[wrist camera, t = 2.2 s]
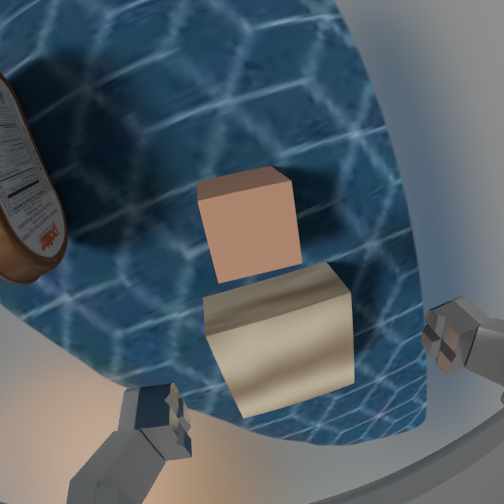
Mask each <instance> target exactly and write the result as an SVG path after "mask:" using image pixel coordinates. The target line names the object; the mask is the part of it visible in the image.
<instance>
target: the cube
mask: <svg viewBox="0 0 504 504" xmlns="http://www.w3.org/2000/svg"><path fill="white" fill-rule="evenodd" d="M197 192H198V205H199V209H200V213H201V217H202V221H203V225H204V229H205V233H206V237H207V241H208V245H209V248H210V252H211V256H212V260H213V264H214V268H215V271H216V275H217V279H218V282H219V283H223V282H227V281H231V280H235V279H240V278H244V277H248V276H252V275H256V274H260V273H264V272H269V271H273V270H277V269H281V268H285V267H289V266H293V265H297V264H301V263H302V258H301V250H300V241H299V233H298V226H297V218H296V210H295V203H294V196H293V189H292V182H291V180H290V179H288V178H287V177H286V176H284V175H283V174H281V173H280V172H279V171H277V170H276V169H274V168H273V167H272V166H268V167H263V168H258V169H253V170H248V171H243V172H238V173H234V174H229V175H225V176H220V177H216V178H211V179H207V180H203V181H199V182H197Z"/></svg>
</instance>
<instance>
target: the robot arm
mask: <svg viewBox="0 0 504 504" xmlns="http://www.w3.org/2000/svg"><path fill="white" fill-rule="evenodd" d="M424 321H425V322H426V323H427V325H426V326H425V328H424V329H423V331H422V337H421V339H422V344H423V347H424V349H425V351H426V352H427V354H428V355H429V356H431V357H434V358H436V364H437V366H438V367H439V368H440V369H441V370H442V372H443V373H444V374H445V375H446V376H448V375H451V374H453V373H454V372H456V371H458V370H460V369H462V368H464V367H465V368H466V369H468V370H470V371H472V372H474V373H476V374H479V375H481V376H483V377H485V378H487V379H489V380H491V381H493V382H496V383H498V384H500V385H502V386H504V320H500V319H497V318H493V319H490V318H489V317H488V316H487V315H486V314H485V313H483V312H482V311H481V310H480V309H479V308H477V307H476V306H475V305H474V304H473V303H471V302H470V301H469V300H468V299H467V298H465V297H463V296H459V297H457V298H455V299H453V300H451V301H449V302H446V303H444V304H441V305H439V306H437V307H434V308H432V309H430V310H428V311H427V312H426V314H425V319H424ZM501 402H502V403H503V404H504V392H503V394H502V396H501ZM189 429H190V418H189V413H188V409H187V407H186V404H185V402H184V400H182V399H180V398H178V389H177V388H176V386H175V384H173V383H170V384H162V385H155V386H147V387H141V388H132V389H126V391H125V392H124V395H123V401H122V406H121V412H120V419H119V425H118V431H114V432H113V433H112V434H111V435H110V436H109V437H108V438H107V439H106V441H105V442H104V443H103V444H102V445H101V446H100V447H99V449H98V450H97V451H96V452H95V453H94V454H93V455H92V457H91V458H90V459H89V460H88V461H87V462H86V463H85V465H84V466H83V467H82V468H81V469H80V470H79V471H78V473H77V474H76V475H75V476H74V477H73V478H72V479H71V481H70V484H69V490H68V497H67V503H66V504H142V502H143V501H144V499H145V497H146V496H147V494H148V492H149V490H150V489H151V487H152V485H153V484H154V482H155V480H156V478H157V477H158V475H159V473H160V472H161V470H162V468H163V466H164V465H165V463H166V462H165V461H168V460H176V459H183V458H190V457H192V450H191V439H190V437H189V436H188V434H187V432H188V431H189ZM0 504H6V503H3V502H0ZM310 504H504V408H503V409H501V410H500V411H498V412H497V413H496V414H494V415H493V416H491V417H490V418H489V419H487V420H486V421H484V422H483V423H481V424H480V425H479V426H477V427H476V428H474V429H473V430H471V431H470V432H468V433H466V434H465V435H463V436H462V437H460V438H458V439H457V440H455V441H453V442H452V443H450V444H448V445H447V446H445V447H443V448H442V449H440V450H438V451H436V452H434V453H433V454H431V455H429V456H427V457H425V458H423V459H421V460H420V461H417V462H415V463H413V464H411V465H409V466H407V467H405V468H403V469H401V470H399V471H397V472H395V473H392V474H390V475H388V476H386V477H384V478H381V479H379V480H376V481H374V482H371V483H369V484H366V485H364V486H361V487H358V488H356V489H353V490H350V491H347V492H345V493H342V494H339V495H336V496H333V497H330V498H327V499H323V500H320V501H317V502H313V503H310Z"/></svg>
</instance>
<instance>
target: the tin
mask: <svg viewBox="0 0 504 504" xmlns="http://www.w3.org/2000/svg"><path fill="white" fill-rule="evenodd" d="M67 243H68V231H67V223H66V218H65V214H64V211H63V207H62V204H61V202H60V199H59V196H58V194H57V192H56V190H55V188H54V186H53V183H52V181H51V179H50V177H49V175H48V172H47V170H46V168H45V165H44V163H43V161H42V158H41V156H40V154H39V151H38V149H37V146H36V144H35V142H34V139H33V137H32V134H31V131H30V129H29V126H28V124H27V121H26V118H25V116H24V113H23V110H22V108H21V105H20V103H19V100H18V98H17V96H16V94H15V92H14V90H13V89H12V87H11V85H10V84H9V82H8V81H7V80H6V78H5V77H4V76H3V75H2V74H1V73H0V277H1V278H3V279H4V280H6V281H8V282H10V283H13V284H17V285H27V284H30V283H33V282H34V281H36V280H37V279H38V278H39V277H40V276H42V275H43V274H45V273H47V272H49V271H51V270H52V269H54V268H55V267H56V266H57V265H58V264H59V263H60V262H61V260H62V259H63V256H64V254H65V251H66V248H67Z"/></svg>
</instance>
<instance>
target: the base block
mask: <svg viewBox="0 0 504 504" xmlns="http://www.w3.org/2000/svg"><path fill="white" fill-rule="evenodd" d="M203 307H204V321H205V335H206V338H207V341H208V343H209V345H210V348H211V350H212V352H213V354H214V357H215V359H216V361H217V363H218V365H219V368H220V370H221V372H222V374H223V376H224V378H225V381H226V383H227V385H228V387H229V389H230V391H231V393H232V395H233V397H234V400H235V402H236V404H237V406H238V408H239V410H240V412H241V414H242V416H243V418H246V417H250V416H254V415H258V414H262V413H265V412H269V411H272V410H276V409H279V408H283V407H286V406H289V405H293V404H296V403H299V402H302V401H305V400H308V399H311V398H314V397H317V396H320V395H323V394H326V393H329V392H332V391H334V390H337V389H340V388H342V387H345V386H348V385H350V384H353V383H354V343H353V319H352V302H351V292H350V291H349V289H348V288H347V287H346V286H345V284H344V283H343V282H342V281H341V279H340V278H339V277H338V276H337V274H336V273H335V272H334V271H333V270H332V268H331V267H330V266H329V265H328V263H327V262H323V263H320V264H316V265H313V266H310V267H307V268H303V269H300V270H297V271H293V272H290V273H287V274H283V275H280V276H277V277H273V278H270V279H267V280H263V281H260V282H256V283H253V284H249V285H246V286H243V287H239V288H236V289H232V290H229V291H225V292H222V293H218V294H215V295H211V296H207V297H204V298H203Z"/></svg>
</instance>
